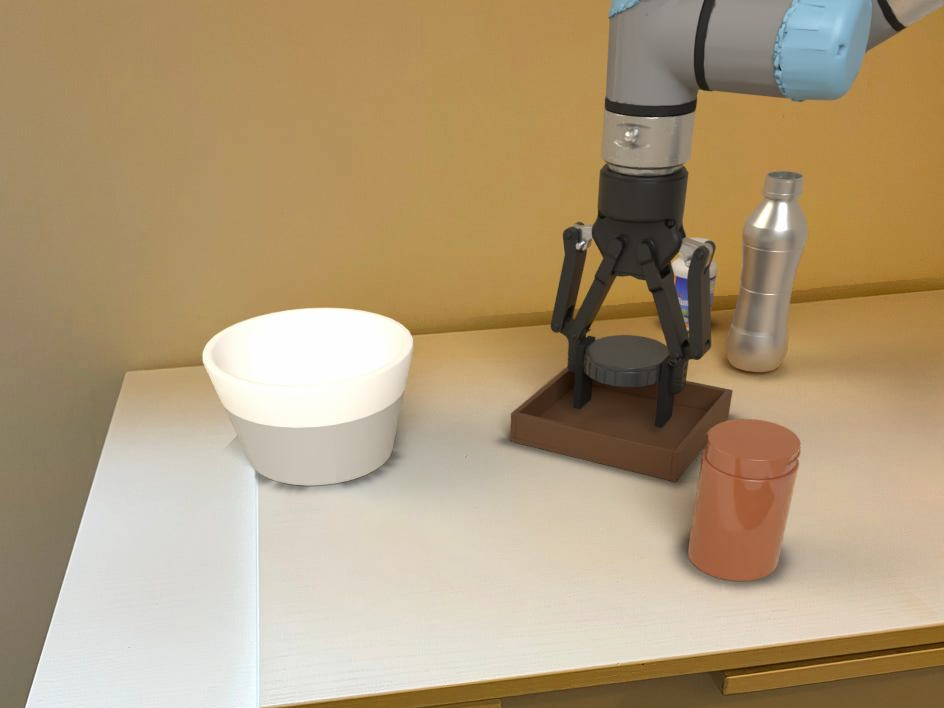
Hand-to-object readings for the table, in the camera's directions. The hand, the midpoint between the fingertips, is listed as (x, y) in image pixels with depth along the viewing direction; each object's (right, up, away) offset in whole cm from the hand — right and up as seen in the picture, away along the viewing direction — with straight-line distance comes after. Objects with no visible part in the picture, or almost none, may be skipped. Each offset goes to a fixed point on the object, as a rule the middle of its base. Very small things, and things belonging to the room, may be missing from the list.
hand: (621, 412), depth 99 cm
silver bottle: (+17, +8, +13) cm, 22 cm away
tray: (0, -1, +1) cm, 2 cm away
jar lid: (0, +5, -4) cm, 6 cm away
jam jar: (+6, -16, -17) cm, 24 cm away
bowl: (-30, -4, -1) cm, 30 cm away
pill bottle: (+12, +16, +23) cm, 30 cm away
